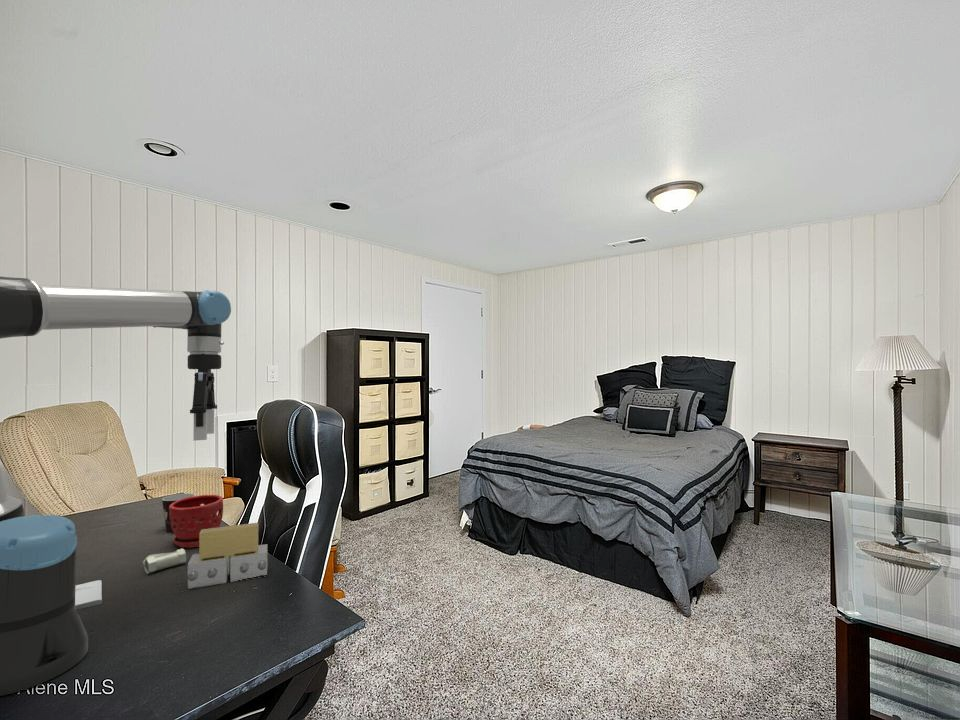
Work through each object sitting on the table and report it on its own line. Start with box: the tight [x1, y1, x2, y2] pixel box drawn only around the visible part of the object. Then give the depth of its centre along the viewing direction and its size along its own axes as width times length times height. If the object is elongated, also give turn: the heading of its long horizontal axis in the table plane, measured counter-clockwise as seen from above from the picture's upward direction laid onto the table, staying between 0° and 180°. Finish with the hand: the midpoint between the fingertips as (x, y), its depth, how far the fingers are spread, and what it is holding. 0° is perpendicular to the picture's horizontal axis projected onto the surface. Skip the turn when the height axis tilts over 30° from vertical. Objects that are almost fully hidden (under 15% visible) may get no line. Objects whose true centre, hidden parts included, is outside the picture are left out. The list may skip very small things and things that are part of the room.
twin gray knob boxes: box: [187, 543, 268, 590], centre depth 110 cm, size 7×16×6 cm, turn 113°
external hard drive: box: [75, 579, 103, 611], centre depth 100 cm, size 2×8×12 cm
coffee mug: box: [161, 493, 196, 534], centre depth 144 cm, size 12×9×10 cm
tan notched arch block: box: [198, 522, 259, 560], centre depth 110 cm, size 3×12×11 cm, turn 113°
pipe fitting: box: [142, 547, 187, 575], centre depth 117 cm, size 8×4×7 cm
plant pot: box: [169, 494, 224, 549], centre depth 134 cm, size 13×13×12 cm
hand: (204, 436), depth 120 cm, fingers open, 13 cm apart
